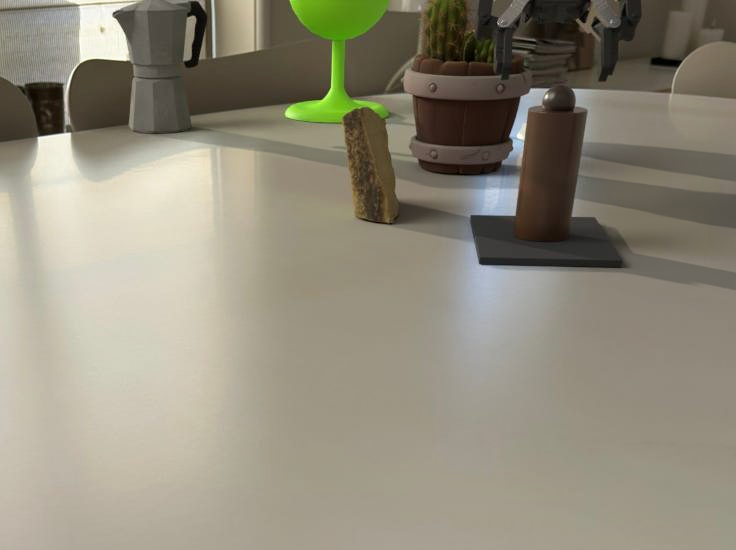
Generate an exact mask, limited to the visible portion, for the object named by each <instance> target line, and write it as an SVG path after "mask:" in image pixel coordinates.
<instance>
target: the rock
mask: <svg viewBox="0 0 736 550" xmlns="http://www.w3.org/2000/svg"><path fill="white" fill-rule="evenodd" d="M341 124H342V129H343V136H344V145H345V151H346V156H347V162H348V172H349V176H350V178H349V179H350V180H349V181H350V188H351V199H352V207H353V214H354V216H355V217H356V218H359V219H363V220H368V221H370V222H376V223H385V224H389V225H390V223H392V224H394V223H395V220H394V219H395V218H397V217H398V216H399V215H400V210H399V199H398V197H397V194H396V184H397V182H396V174H395V169H394V167H393V161H392V154H391V153H390V150H389V134H388V129H387V122H386V120H385V118H383V119H382V118H381V117H380V116H379V115H378V114H377V113H375V112H374V111H373V110H372V109H371V108H369V107H362V108H361V109H358V108H356V109H354V110H352V111H351V112H348V113H347V114H345V115H344V116H343V117H342V123H341Z"/></svg>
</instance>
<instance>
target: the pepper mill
mask: <svg viewBox="0 0 736 550" xmlns="http://www.w3.org/2000/svg"><path fill="white" fill-rule="evenodd" d="M576 103H577V97H576V94H575V92H574V90H573V89H572V88H571V86H569V85H567V84H563V83H560V84H559V83H558V84H555V85H553V86H551V87H550V88H548V90H547V91H546V92H545V94H544V95H543V98H542V102H541V105H534V106H530V107H528V109H527V117H526V122H527V124H526V132H525V140H524V141H523V149H522V158H521V166H520V174H519V182H518V191H517V198H516V207H515V215H514V216H515V222H514V230H513V235H514V236H515V237H517V238H519V239H522V240H527V241H534V242H557V241H562V240H565V239H567V238H568V237H569V231H570V225H571V218H572V217H573V211H574V204H575V198H576V192H577V186H578V185H577V184H578V177H579V171H580V165H581V159H582V151H583V145H584V138H585V132H586V125H587V118H588V113H589V110H588V109H587V108H585V107H582V106H577V105H576Z"/></svg>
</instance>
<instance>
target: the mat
mask: <svg viewBox="0 0 736 550" xmlns="http://www.w3.org/2000/svg"><path fill="white" fill-rule="evenodd" d="M469 217H470V218H469V222H470V227H471V233H472V237H473V242H474V246H475V252H476V256H477V260H478V261H477V262H478V265H495V266H497V265H502V266H503V265H504V266H540V267H541V266H545V267H586V268H587V267H590V268H622V265H623V258H622V257H621V256H620V254H619V253H618V250H616V248H615V246H614V245H613V244H612V242H611V240H610V239H609V237H608V236H607V234H606V232H605V231H604V229H603V227H602V226H601V224H600V223H599V221H598V220H597V217H595V216H572V218H571V225H570V231H569V237H568V238H567V239H565V240H562V241H557V242H534V241H527V240H522V239H519V238H517V237H515V236H514V235H513V230H514V222H515V215H500V214H499V215H497V214H496V215H495V214H494V215H493V214H491V215H490V214H470V216H469Z"/></svg>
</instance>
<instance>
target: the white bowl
mask: <svg viewBox="0 0 736 550" xmlns="http://www.w3.org/2000/svg"><path fill="white" fill-rule="evenodd" d="M526 124H527V121H525V122H523V123H522V125H521V127H520V129H519V130H518V132H517V136H516V137H517V139H519V141H522V142H524V140H525V132H526Z"/></svg>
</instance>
